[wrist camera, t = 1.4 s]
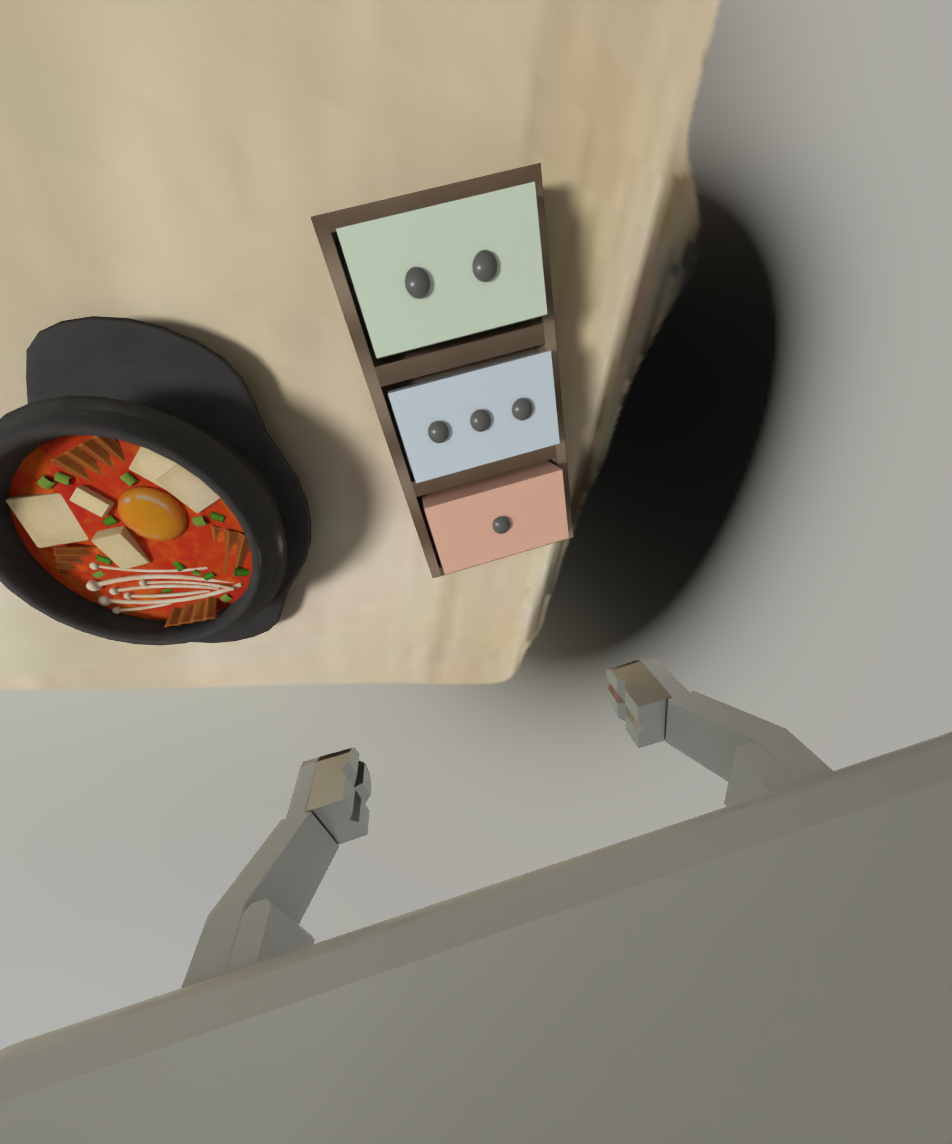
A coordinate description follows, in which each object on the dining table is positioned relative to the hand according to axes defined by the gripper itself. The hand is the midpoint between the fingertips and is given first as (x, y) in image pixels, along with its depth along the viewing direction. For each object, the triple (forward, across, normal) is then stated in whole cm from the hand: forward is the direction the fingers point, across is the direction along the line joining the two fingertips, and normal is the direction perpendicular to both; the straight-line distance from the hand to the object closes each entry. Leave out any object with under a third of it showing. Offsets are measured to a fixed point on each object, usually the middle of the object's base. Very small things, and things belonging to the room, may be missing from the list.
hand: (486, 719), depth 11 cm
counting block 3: (+22, -5, +2) cm, 23 cm away
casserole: (+25, +19, -5) cm, 31 cm away
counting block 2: (+22, -5, -6) cm, 23 cm away
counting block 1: (+22, -5, -14) cm, 27 cm away
